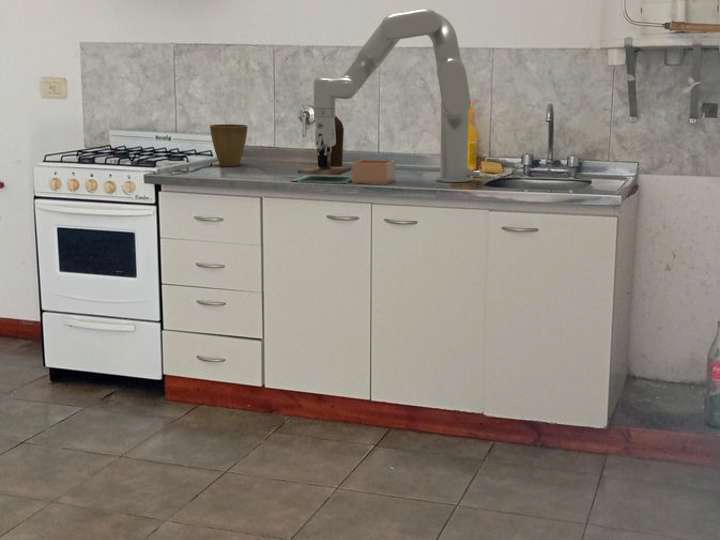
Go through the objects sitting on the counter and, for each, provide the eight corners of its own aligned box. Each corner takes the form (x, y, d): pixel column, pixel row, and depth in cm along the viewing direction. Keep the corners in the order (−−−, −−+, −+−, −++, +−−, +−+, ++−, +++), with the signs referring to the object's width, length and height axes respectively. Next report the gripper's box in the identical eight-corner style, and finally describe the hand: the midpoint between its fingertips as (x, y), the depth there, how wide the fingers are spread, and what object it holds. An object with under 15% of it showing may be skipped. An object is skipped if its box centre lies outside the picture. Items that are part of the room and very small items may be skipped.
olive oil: (343, 170, 401) (343, 104, 396) (316, 170, 401) (315, 104, 396) (343, 167, 412) (343, 103, 407) (316, 167, 412) (316, 103, 407)
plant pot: (204, 167, 414) (203, 126, 411) (219, 163, 428) (218, 123, 425) (240, 168, 410) (239, 126, 407) (254, 164, 424) (253, 124, 421)
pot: (394, 180, 370) (395, 160, 368) (386, 184, 358) (386, 163, 357) (362, 179, 373) (362, 159, 371) (352, 183, 361) (352, 162, 360)
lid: (351, 170, 375) (351, 150, 374) (339, 175, 361) (339, 154, 360) (311, 169, 379) (311, 149, 378) (297, 173, 365) (297, 152, 364)
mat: (358, 178, 376) (358, 177, 376) (345, 183, 361) (345, 182, 360) (305, 176, 381) (305, 175, 381) (290, 181, 366) (290, 180, 366)
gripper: (327, 115, 357) (328, 169, 361) (341, 112, 373) (341, 164, 377) (306, 114, 359) (307, 168, 363) (321, 112, 375) (321, 163, 379)
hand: (324, 165), depth 370 cm, fingers closed on lid, 4 cm apart
